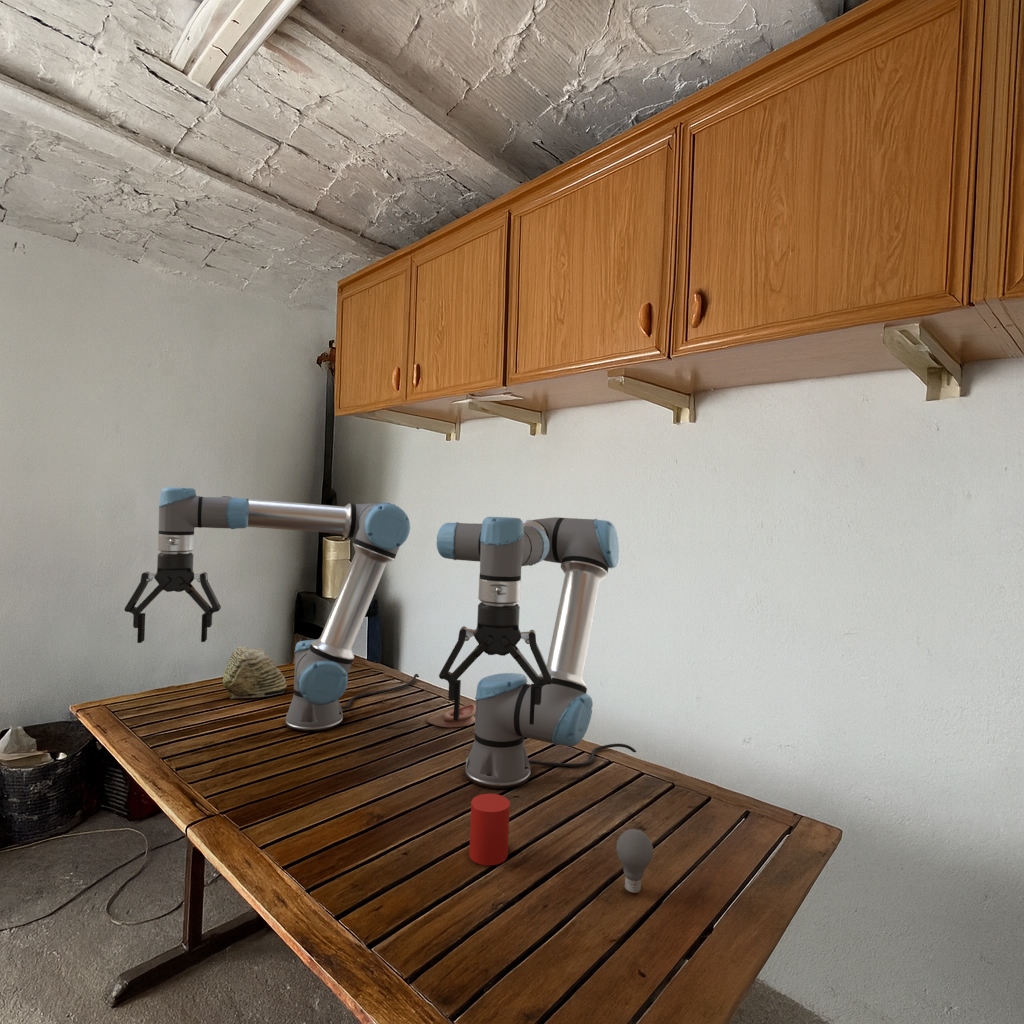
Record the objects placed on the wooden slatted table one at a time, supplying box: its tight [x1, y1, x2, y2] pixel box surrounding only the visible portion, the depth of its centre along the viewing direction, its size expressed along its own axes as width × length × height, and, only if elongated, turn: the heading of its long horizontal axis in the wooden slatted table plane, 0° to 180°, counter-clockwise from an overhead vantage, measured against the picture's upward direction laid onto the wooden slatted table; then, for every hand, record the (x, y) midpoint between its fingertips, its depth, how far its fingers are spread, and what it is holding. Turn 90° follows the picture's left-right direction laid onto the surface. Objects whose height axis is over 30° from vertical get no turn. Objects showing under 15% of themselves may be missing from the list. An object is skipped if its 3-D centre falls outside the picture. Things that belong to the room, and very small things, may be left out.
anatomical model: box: [426, 703, 476, 728], centre depth 182 cm, size 13×4×12 cm
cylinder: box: [468, 793, 511, 866], centre depth 115 cm, size 7×7×10 cm
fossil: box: [222, 646, 288, 699], centre depth 198 cm, size 9×18×15 cm, turn 132°
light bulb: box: [615, 828, 654, 894], centre depth 106 cm, size 6×6×10 cm
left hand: (172, 641), depth 151 cm, fingers open, 13 cm apart
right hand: (493, 720), depth 114 cm, fingers open, 13 cm apart
